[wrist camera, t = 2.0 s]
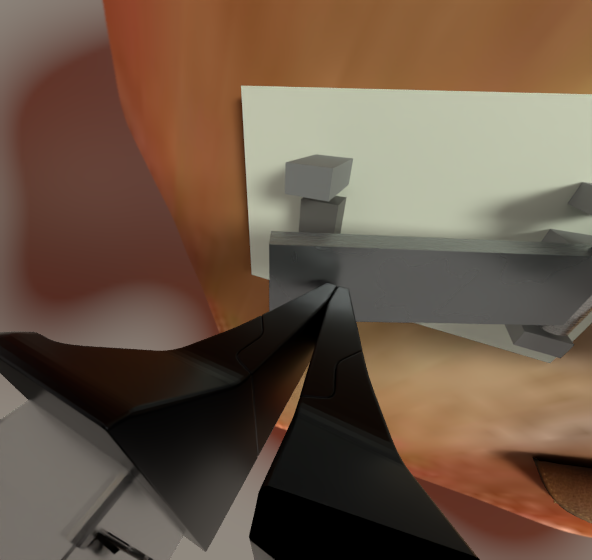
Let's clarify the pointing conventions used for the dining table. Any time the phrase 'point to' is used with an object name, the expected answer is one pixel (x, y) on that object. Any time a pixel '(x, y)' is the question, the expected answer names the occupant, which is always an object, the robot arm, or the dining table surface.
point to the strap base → (422, 175)
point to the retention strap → (438, 278)
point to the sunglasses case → (568, 487)
